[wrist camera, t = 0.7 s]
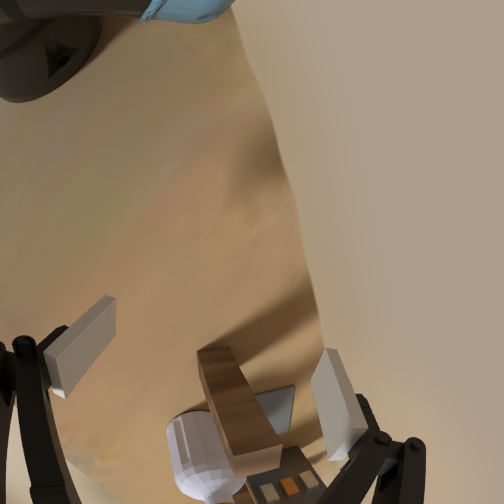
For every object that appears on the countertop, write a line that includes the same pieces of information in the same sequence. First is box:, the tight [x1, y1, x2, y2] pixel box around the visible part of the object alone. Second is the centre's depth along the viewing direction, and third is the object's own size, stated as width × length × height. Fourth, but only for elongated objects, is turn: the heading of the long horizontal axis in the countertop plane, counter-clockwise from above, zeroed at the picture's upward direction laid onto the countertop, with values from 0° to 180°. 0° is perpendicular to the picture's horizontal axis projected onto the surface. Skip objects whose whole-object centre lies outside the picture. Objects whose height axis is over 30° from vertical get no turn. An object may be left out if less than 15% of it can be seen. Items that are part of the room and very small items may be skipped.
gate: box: [197, 347, 283, 504], centre depth 28 cm, size 29×4×16 cm, turn 179°
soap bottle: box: [167, 411, 246, 504], centre depth 23 cm, size 9×9×25 cm
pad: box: [255, 385, 294, 435], centre depth 37 cm, size 11×10×1 cm
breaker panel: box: [246, 445, 327, 504], centre depth 34 cm, size 4×12×14 cm, turn 89°
